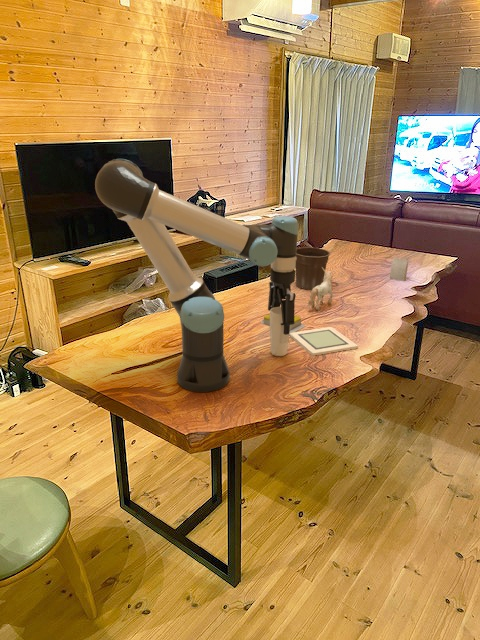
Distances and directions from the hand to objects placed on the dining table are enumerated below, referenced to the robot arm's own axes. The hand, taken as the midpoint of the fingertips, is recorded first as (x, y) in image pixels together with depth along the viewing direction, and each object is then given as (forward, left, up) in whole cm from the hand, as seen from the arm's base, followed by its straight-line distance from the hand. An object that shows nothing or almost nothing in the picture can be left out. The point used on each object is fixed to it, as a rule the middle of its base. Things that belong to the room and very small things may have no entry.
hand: (279, 337), depth 156 cm
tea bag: (+89, +54, -6) cm, 104 cm away
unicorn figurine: (+34, +36, -6) cm, 50 cm away
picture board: (+18, +3, -5) cm, 19 cm away
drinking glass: (0, 0, -6) cm, 6 cm away
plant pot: (+43, +58, -6) cm, 72 cm away
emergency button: (+12, +22, -6) cm, 25 cm away
